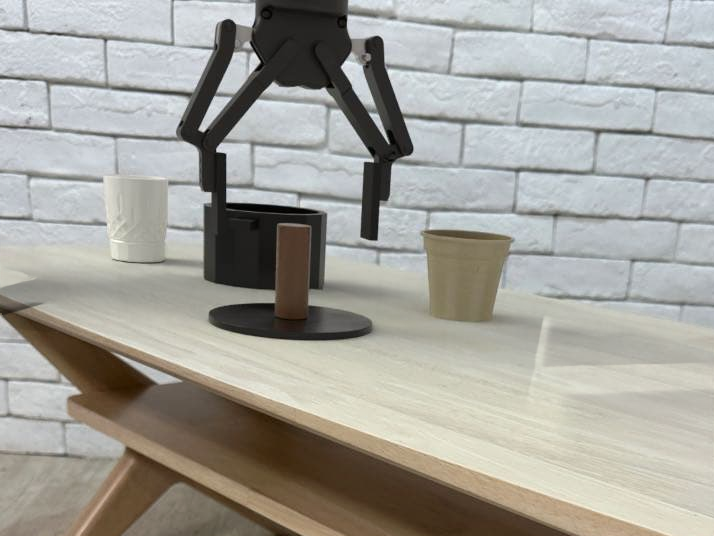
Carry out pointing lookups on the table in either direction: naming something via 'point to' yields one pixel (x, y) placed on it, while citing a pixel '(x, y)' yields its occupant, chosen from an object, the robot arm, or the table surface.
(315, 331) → the pot lid
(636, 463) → the table surface
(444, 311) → the flower pot
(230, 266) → the pot
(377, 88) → the robot arm
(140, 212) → the white cup
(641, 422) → the table surface
